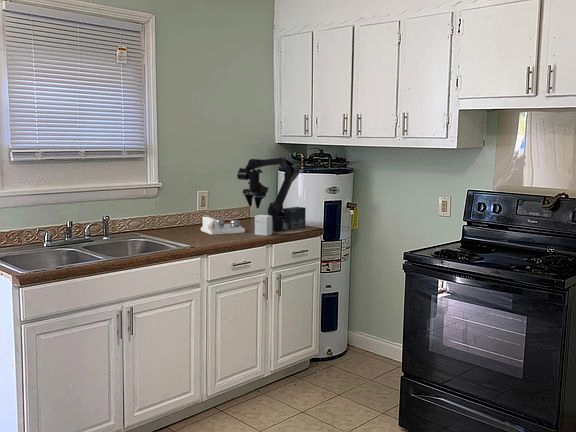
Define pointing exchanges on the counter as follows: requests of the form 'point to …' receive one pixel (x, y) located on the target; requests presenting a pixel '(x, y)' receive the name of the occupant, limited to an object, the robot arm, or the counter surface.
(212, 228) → the scale
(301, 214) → the small box
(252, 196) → the robot arm
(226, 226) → the pan
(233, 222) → the steel cup
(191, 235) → the counter surface
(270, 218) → the small box
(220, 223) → the spacer on pan
